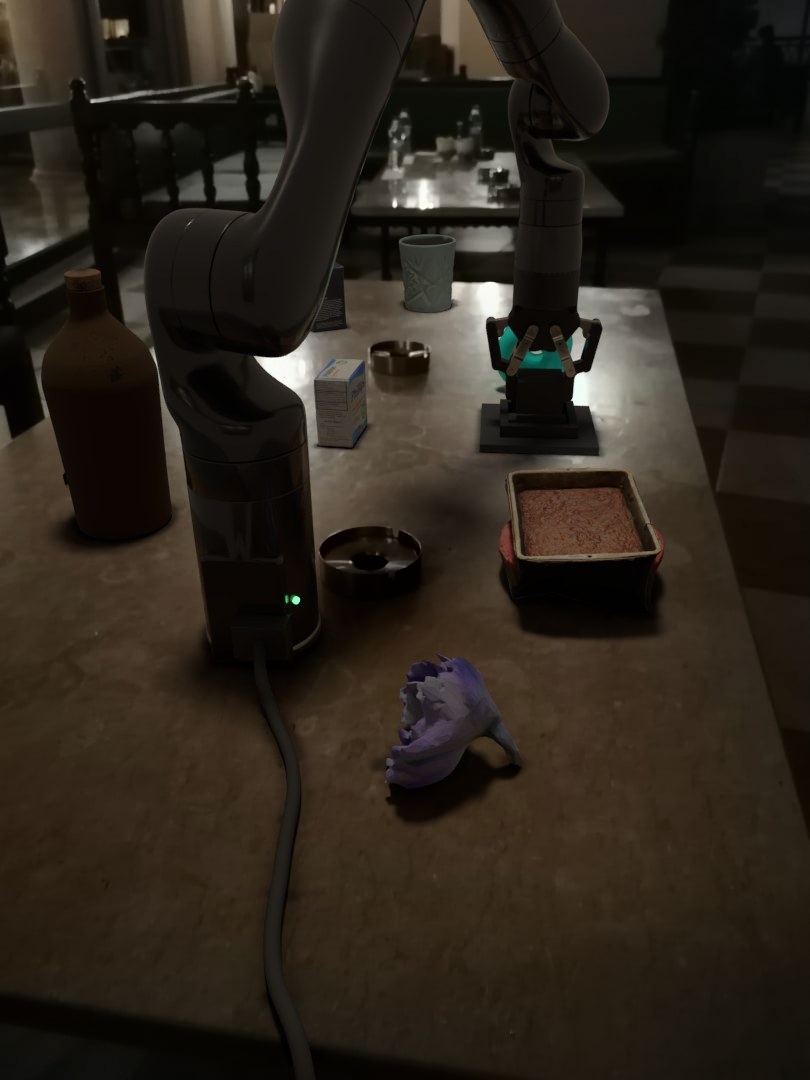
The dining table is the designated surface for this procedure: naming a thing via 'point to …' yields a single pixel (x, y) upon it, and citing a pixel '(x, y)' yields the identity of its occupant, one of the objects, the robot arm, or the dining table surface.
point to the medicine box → (341, 402)
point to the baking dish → (580, 538)
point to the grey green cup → (427, 271)
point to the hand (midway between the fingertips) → (538, 402)
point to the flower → (443, 722)
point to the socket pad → (537, 430)
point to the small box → (333, 303)
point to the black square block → (539, 391)
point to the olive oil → (106, 417)
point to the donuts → (530, 354)
